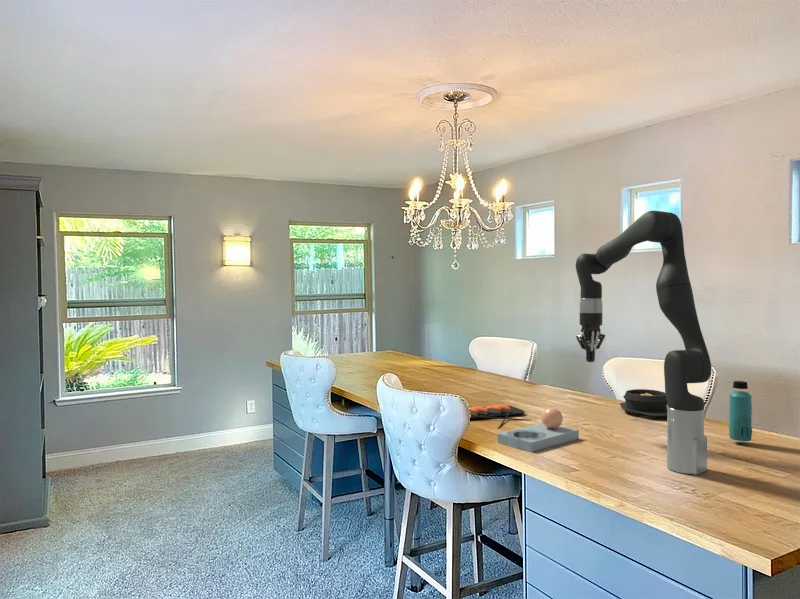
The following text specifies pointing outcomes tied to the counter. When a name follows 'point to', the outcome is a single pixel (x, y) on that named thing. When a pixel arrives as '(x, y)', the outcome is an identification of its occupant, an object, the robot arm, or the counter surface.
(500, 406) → the sushi plate
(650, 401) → the casserole
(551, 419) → the ball
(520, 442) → the board
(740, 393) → the beverage bottle
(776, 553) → the counter surface
